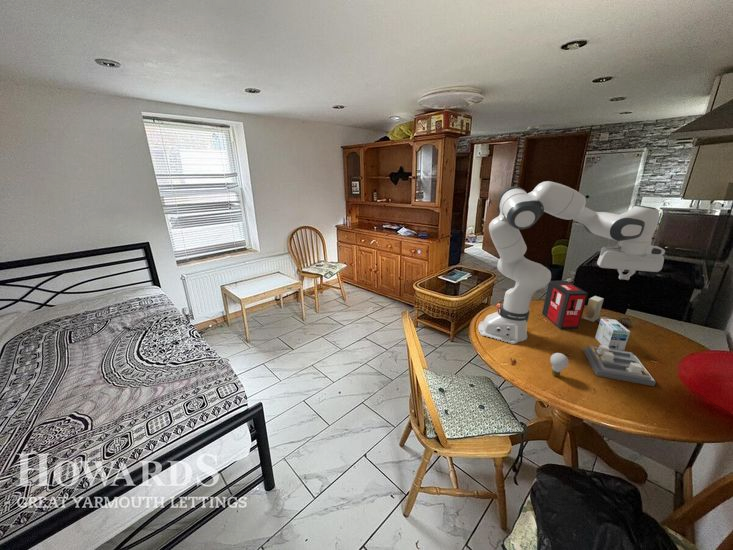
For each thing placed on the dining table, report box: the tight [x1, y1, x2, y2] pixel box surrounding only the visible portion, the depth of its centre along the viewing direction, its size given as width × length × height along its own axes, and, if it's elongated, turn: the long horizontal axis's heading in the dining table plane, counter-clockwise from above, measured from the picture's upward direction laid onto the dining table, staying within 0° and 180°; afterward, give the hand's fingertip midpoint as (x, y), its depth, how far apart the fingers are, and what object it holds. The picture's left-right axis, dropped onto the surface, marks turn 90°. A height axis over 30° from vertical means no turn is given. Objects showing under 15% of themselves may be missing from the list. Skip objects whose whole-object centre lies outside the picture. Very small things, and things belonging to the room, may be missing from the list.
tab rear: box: [596, 344, 610, 354], centre depth 122 cm, size 4×3×4 cm
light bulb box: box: [594, 318, 631, 351], centre depth 130 cm, size 11×7×11 cm, turn 168°
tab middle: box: [600, 351, 614, 362], centre depth 117 cm, size 4×3×4 cm
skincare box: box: [583, 295, 605, 323], centre depth 151 cm, size 6×4×12 cm
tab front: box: [626, 362, 642, 374], centre depth 111 cm, size 4×3×4 cm
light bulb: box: [549, 352, 569, 377], centre depth 112 cm, size 6×6×10 cm
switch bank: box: [583, 345, 657, 387], centre depth 117 cm, size 18×17×3 cm
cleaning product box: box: [541, 280, 589, 331], centre depth 149 cm, size 16×9×20 cm, turn 179°
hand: (623, 279), depth 119 cm, fingers closed
